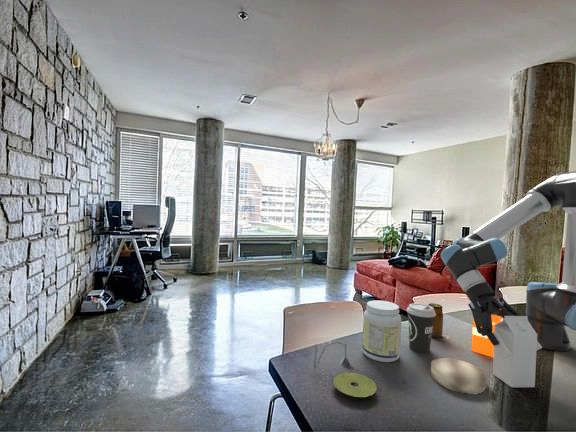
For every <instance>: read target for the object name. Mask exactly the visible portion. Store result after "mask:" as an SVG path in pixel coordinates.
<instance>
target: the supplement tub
mask: <svg viewBox="0 0 576 432" xmlns="http://www.w3.org/2000/svg"><path fill="white" fill-rule="evenodd" d="M365 308H366V310H365V311H364V313H363V327H362V352H363V354H364V356H366V357H367V358H369V359H371V360H373V361H376V362H381V363H392V362H395V361H397V360H398V359H399V358H400V355H401V339H402V316H401V315H400V314H399V313H400V306H399V305H398V304H397V303H394V302H391V301H387V300H379V299H378V300H369V301H367V302H366V307H365Z"/></svg>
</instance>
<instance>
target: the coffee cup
mask: <svg viewBox="0 0 576 432" xmlns="http://www.w3.org/2000/svg"><path fill="white" fill-rule="evenodd" d="M406 312H407V320H408V321H407V322H408V324H407V325H408V341H409V342H408V343H409V349H410V350H412V351H414V352H416V353H419V354H427V353H430V351H431V349H430V348H431V344H432V343H431V342H432V337H431V336H432V329H433V322H434V317H435V316H436V313H435V311H434V308H433V307H431V306H429V305H428V304H424V303H415V302H414V303H409V305H408V306H407V308H406Z"/></svg>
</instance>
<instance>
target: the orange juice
mask: <svg viewBox="0 0 576 432" xmlns="http://www.w3.org/2000/svg"><path fill="white" fill-rule="evenodd" d="M493 297H494V298H495V296H494V295H493ZM500 310H501V309H500ZM491 317H492V328H493V332H495V325H496V324H498V323H499V322H501V321H503V320H504V318H502V317H501V316H497V315H491ZM472 318H473V317H472ZM471 336H472V340H471V351H472V352H474V353H478V354H482V355H485V356H488V357H491V358H493V354H494V345H493V344H492V343H491V342H490V340H489V339H488V337H487V336H482V335H481V334H479V333H478V332H477V329H476V325H475V322H474V318H473V319H472V335H471Z"/></svg>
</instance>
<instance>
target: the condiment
mask: <svg viewBox="0 0 576 432" xmlns="http://www.w3.org/2000/svg"><path fill="white" fill-rule="evenodd" d="M427 305H429V306H431V307H433V308H434V311H435V313H436V316H435V317H434V322H433V329H432V336H431V339H435V340H437V341H442V342H444V341H446V340H448V339H450V338H451V336H450V335H447V334H443V328H444V327H443V325H444V313H443V305H441V304H439V303H428V304H427Z"/></svg>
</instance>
